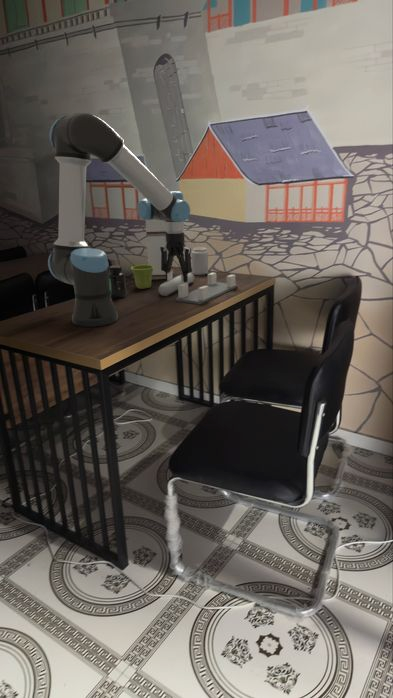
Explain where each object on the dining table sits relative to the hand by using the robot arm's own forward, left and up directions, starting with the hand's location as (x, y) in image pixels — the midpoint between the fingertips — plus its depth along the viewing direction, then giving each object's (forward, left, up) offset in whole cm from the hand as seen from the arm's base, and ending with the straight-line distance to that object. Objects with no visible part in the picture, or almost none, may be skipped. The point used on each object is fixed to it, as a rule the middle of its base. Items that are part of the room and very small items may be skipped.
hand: (177, 288), depth 205 cm
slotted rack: (+15, 0, 0) cm, 15 cm away
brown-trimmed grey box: (-21, +18, -1) cm, 27 cm away
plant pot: (-15, -3, -1) cm, 15 cm away
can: (-7, +30, -1) cm, 31 cm away
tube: (-1, 0, -1) cm, 1 cm away
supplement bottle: (-15, -20, -1) cm, 25 cm away
